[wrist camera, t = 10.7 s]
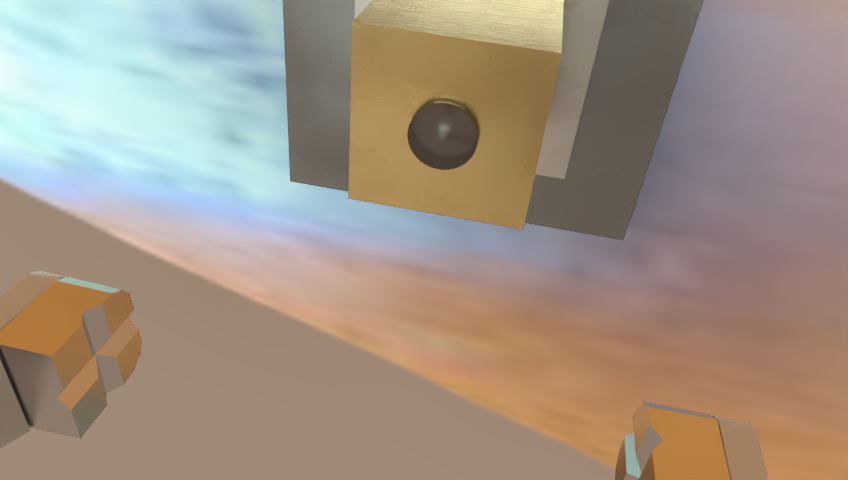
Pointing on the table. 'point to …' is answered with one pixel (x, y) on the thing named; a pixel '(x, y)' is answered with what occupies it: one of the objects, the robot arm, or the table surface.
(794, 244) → the table surface
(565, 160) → the press
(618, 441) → the table surface
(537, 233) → the table surface
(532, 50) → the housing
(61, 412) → the robot arm
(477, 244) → the table surface
